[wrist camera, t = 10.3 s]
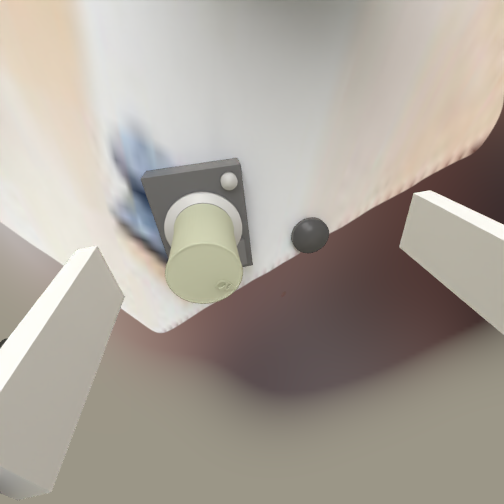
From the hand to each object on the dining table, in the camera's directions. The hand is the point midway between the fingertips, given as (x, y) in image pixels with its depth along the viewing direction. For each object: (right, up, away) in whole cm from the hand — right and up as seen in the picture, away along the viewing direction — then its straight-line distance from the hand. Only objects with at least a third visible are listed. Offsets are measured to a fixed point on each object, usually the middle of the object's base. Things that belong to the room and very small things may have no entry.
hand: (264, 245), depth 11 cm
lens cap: (+11, +3, +38) cm, 40 cm away
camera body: (-9, +6, +33) cm, 35 cm away
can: (-8, +3, +29) cm, 30 cm away
